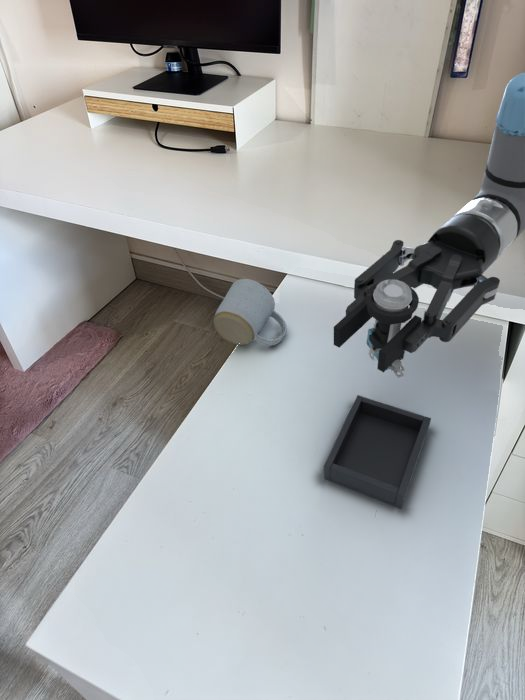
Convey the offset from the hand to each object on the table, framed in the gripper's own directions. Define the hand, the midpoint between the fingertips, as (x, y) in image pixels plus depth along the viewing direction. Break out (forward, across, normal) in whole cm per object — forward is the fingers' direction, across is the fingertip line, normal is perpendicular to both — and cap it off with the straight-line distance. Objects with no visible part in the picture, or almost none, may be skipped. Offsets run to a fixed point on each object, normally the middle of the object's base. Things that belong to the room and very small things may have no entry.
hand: (358, 349), depth 52 cm
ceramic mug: (-7, -25, +18) cm, 32 cm away
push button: (-5, 0, +6) cm, 8 cm away
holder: (-1, +3, +18) cm, 18 cm away
